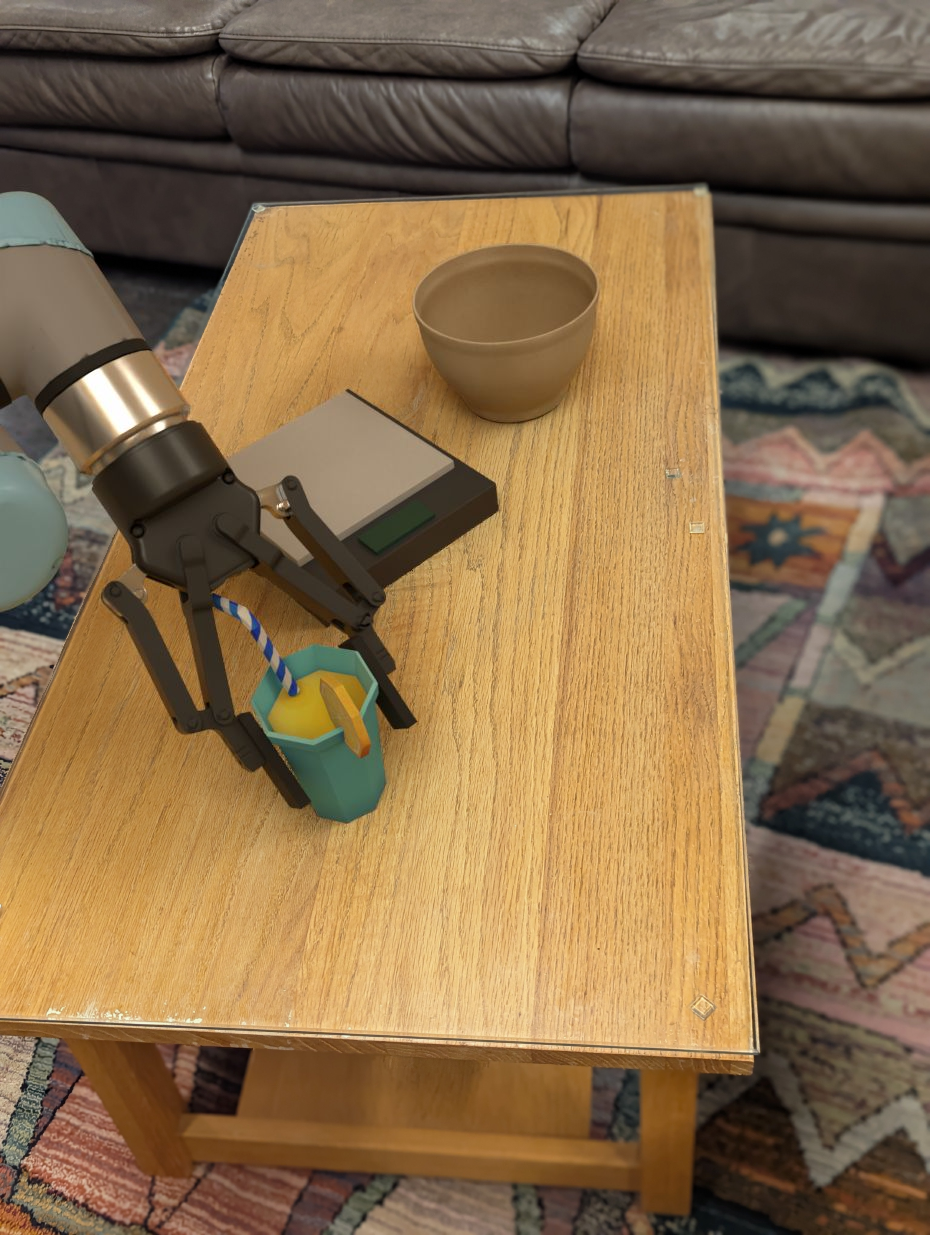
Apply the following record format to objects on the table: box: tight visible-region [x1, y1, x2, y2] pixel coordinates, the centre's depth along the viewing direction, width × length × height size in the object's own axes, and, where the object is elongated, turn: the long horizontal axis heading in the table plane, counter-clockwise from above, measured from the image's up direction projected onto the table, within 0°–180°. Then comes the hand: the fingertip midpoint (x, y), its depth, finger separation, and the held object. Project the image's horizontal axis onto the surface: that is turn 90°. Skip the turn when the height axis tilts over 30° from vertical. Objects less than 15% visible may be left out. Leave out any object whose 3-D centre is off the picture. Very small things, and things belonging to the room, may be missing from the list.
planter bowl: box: [411, 242, 600, 423], centre depth 96 cm, size 16×16×11 cm
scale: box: [225, 388, 500, 628], centre depth 90 cm, size 18×20×4 cm
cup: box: [211, 592, 387, 824], centre depth 67 cm, size 14×8×15 cm, turn 50°
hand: (354, 763), depth 67 cm, fingers closed on cup, 7 cm apart
